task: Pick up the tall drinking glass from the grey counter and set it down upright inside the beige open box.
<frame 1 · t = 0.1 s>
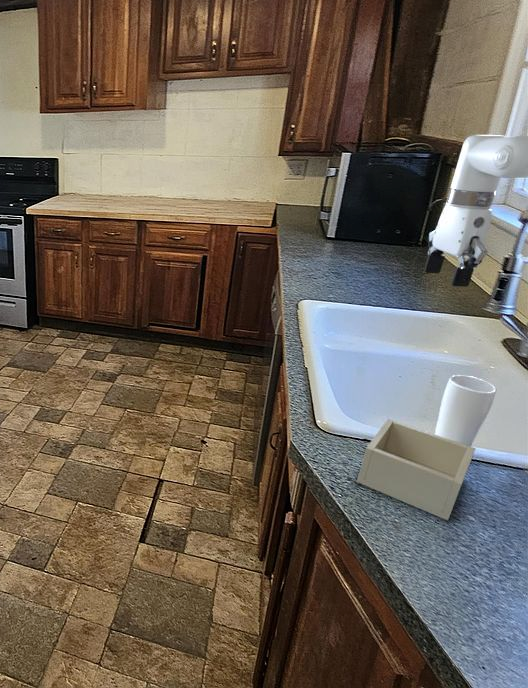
hand: (444, 279, 115), 25 cm above the worktop, tool pointing down, fingers open, 9 cm apart
beige open box: (409, 482, 90), on the worktop
drinking glass: (446, 455, 98), on the worktop
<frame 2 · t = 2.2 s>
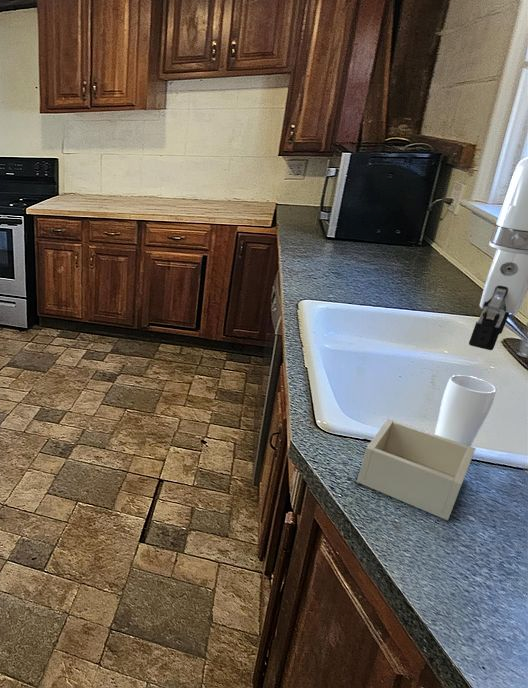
hand: (485, 339, 89), 23 cm above the worktop, tool pointing down, fingers open, 9 cm apart
nothing on the worktop moved.
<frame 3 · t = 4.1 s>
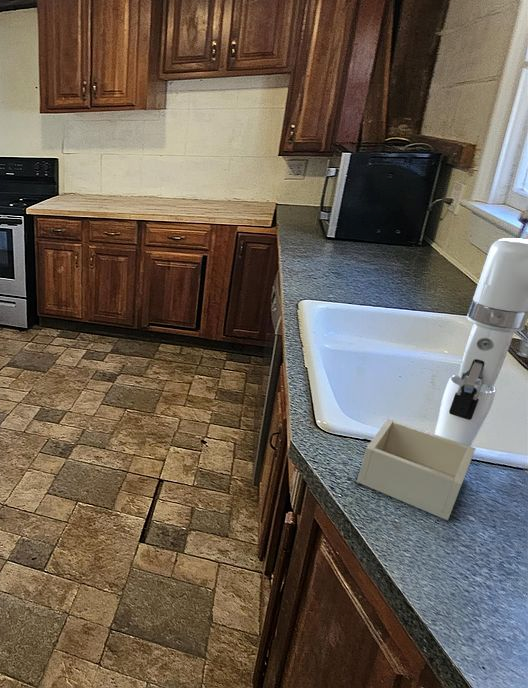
hand: (464, 407, 94), 10 cm above the worktop, tool pointing down, fingers closed on drinking glass, 6 cm apart
drinking glass: (446, 455, 98), on the worktop, touching gripper
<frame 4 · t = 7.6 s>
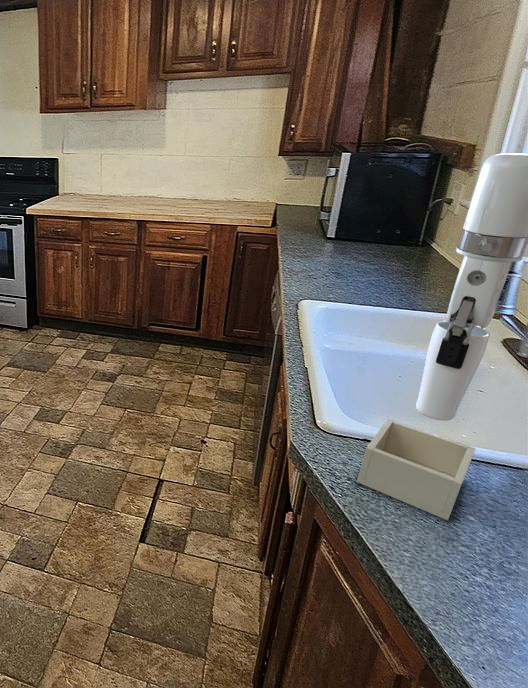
hand: (453, 357, 82), 23 cm above the worktop, tool pointing down, fingers closed on drinking glass, 6 cm apart
drinking glass: (433, 414, 86), point 13 cm above the worktop, touching gripper
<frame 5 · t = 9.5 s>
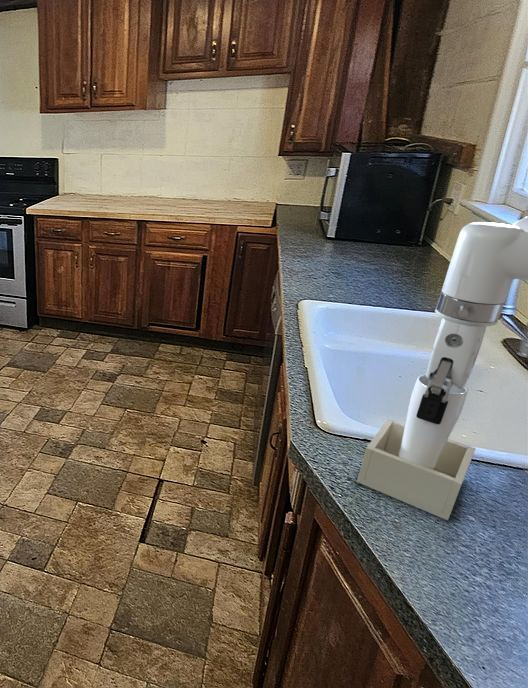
hand: (433, 410, 85), 14 cm above the worktop, tool pointing down, fingers closed on drinking glass, 6 cm apart
drinking glass: (415, 463, 89), point 4 cm above the worktop, touching gripper
when the fingers open (11 cm above the worktop, at t = 11.0 s): drinking glass stays where it is, resting on beige open box.
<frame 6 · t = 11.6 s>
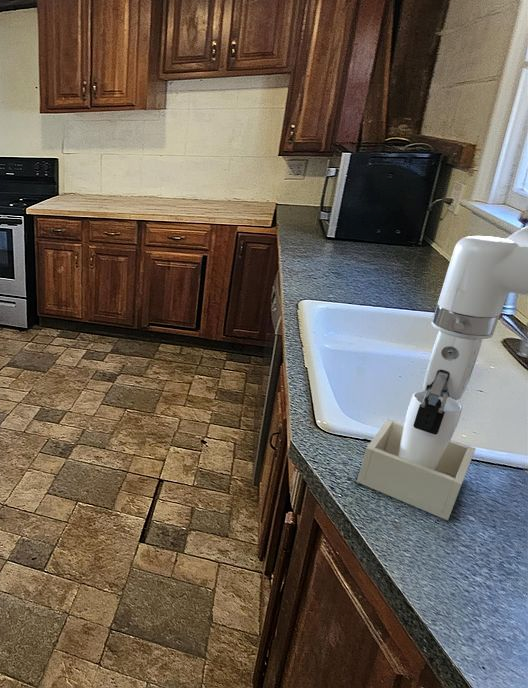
hand: (431, 418, 85), 13 cm above the worktop, tool pointing down, fingers open, 9 cm apart
drinking glass: (411, 478, 90), point 1 cm above the worktop, touching beige open box
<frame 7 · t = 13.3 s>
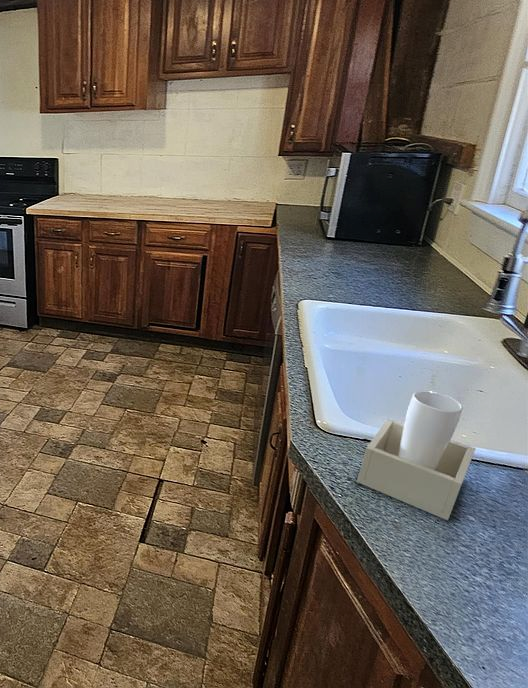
nothing on the worktop moved.
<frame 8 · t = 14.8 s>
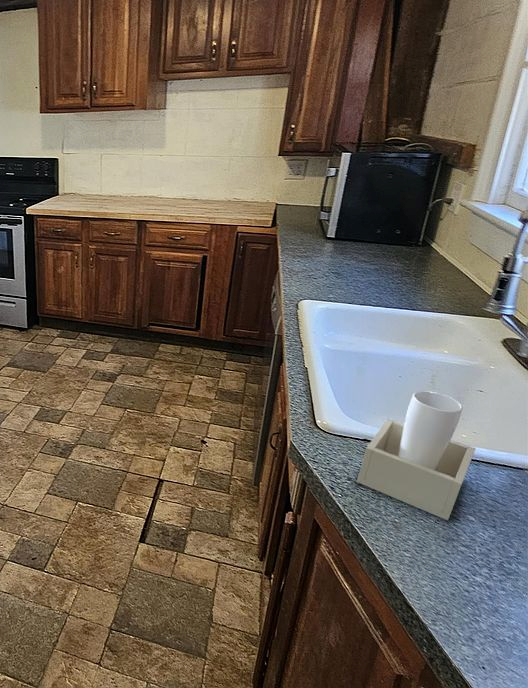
nothing on the worktop moved.
at the end: drinking glass inside the target area in the beige open box (0.0 cm from its centre), point 0.8 cm above the beige open box's base; drinking glass tilted 0°; the gripper is holding nothing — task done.
